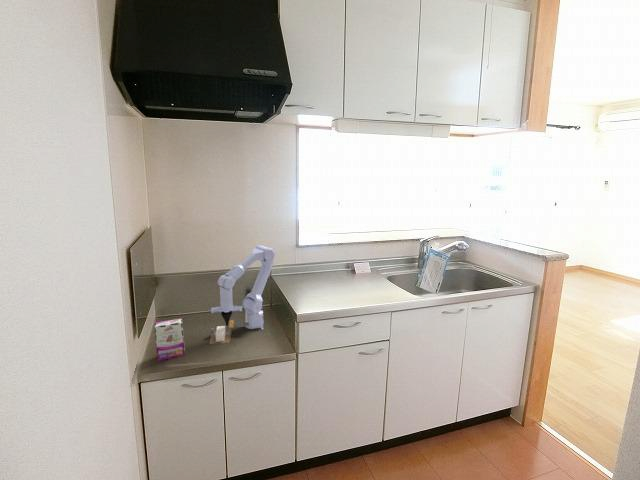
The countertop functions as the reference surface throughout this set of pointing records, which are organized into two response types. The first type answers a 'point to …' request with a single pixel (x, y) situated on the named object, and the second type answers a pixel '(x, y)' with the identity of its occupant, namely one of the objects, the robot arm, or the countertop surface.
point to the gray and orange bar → (237, 324)
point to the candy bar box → (169, 339)
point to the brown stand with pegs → (213, 341)
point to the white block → (220, 333)
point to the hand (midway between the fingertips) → (227, 324)
